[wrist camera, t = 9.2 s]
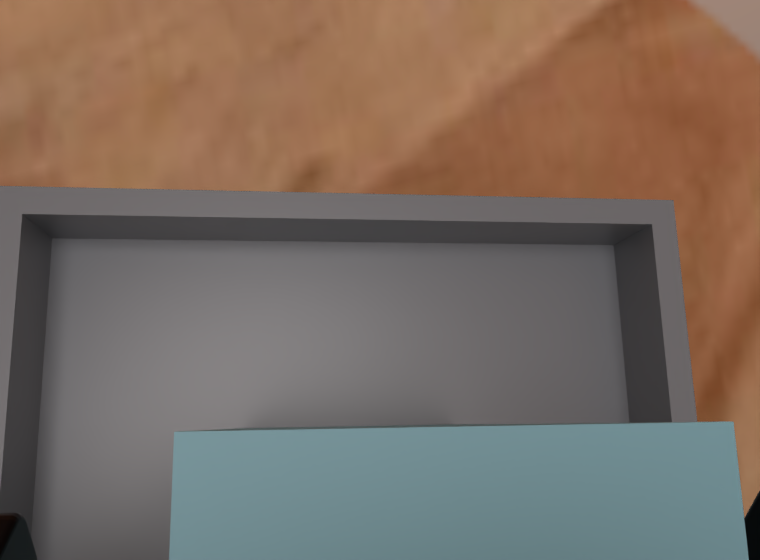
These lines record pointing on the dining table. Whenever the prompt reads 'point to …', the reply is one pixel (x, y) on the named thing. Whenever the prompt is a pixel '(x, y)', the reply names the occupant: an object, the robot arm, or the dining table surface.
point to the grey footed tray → (308, 331)
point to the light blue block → (459, 492)
